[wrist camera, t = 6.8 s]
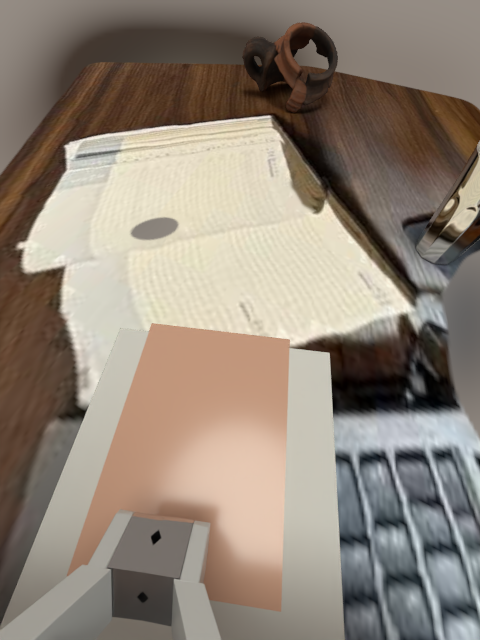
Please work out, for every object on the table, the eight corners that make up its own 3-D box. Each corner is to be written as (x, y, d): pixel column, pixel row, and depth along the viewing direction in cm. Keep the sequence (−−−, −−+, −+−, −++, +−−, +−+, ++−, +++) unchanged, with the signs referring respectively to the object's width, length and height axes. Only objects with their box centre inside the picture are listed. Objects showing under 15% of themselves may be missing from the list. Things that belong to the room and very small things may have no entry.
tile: (281, 611, 10) (289, 339, 15) (66, 576, 10) (151, 323, 16) (272, 589, 12) (283, 356, 17) (94, 560, 12) (161, 341, 18)
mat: (347, 763, 10) (351, 774, 9) (-22, 694, 10) (-31, 701, 10) (327, 355, 18) (329, 353, 18) (122, 330, 19) (120, 328, 18)
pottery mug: (312, 86, 42) (346, 28, 34) (307, 143, 41) (341, 97, 33) (237, 58, 39) (255, -13, 31) (231, 120, 38) (247, 63, 30)
